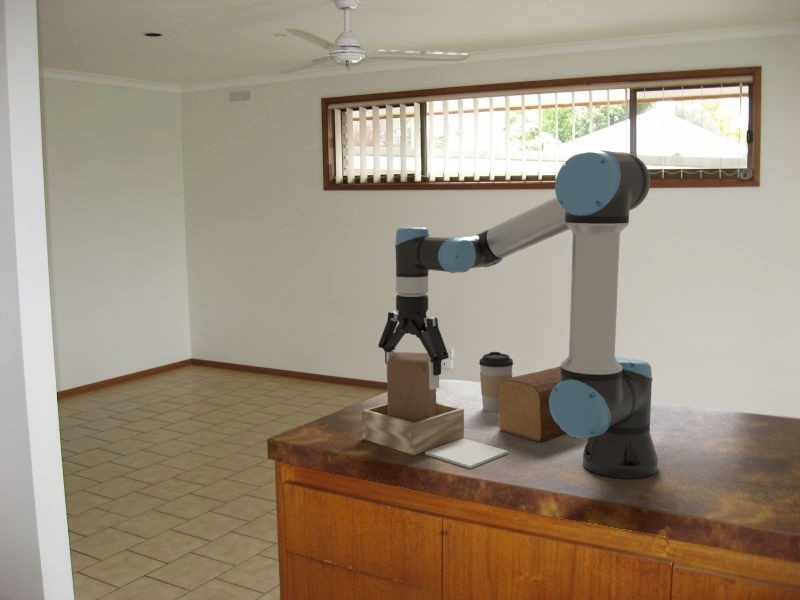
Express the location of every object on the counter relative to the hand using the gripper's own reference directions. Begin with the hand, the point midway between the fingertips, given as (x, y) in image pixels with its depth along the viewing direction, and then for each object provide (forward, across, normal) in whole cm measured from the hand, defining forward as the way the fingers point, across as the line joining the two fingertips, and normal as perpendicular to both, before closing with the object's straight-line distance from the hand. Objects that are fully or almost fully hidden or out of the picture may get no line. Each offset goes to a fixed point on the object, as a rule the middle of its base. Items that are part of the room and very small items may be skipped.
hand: (412, 383), depth 178 cm
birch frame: (+13, 0, 0) cm, 13 cm away
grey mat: (+13, -17, 0) cm, 21 cm away
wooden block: (+14, 0, 0) cm, 14 cm away
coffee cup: (+14, +1, -33) cm, 36 cm away
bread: (+13, -19, -34) cm, 42 cm away
